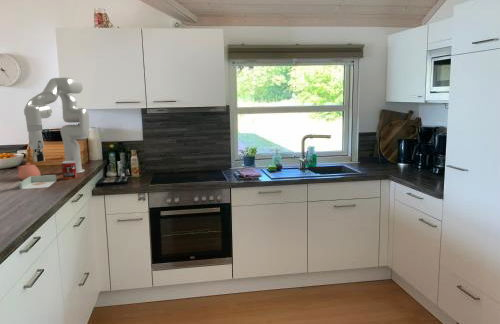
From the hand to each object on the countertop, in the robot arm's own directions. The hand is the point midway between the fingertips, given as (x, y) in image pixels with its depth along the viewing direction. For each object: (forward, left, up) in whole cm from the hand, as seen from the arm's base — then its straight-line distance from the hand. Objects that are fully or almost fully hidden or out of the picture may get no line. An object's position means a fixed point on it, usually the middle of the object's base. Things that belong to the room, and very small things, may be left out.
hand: (38, 160), depth 232 cm
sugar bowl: (-25, -15, -15) cm, 33 cm away
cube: (0, 0, 0) cm, 0 cm away
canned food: (-15, +12, -15) cm, 24 cm away
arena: (-1, -2, -15) cm, 15 cm away
